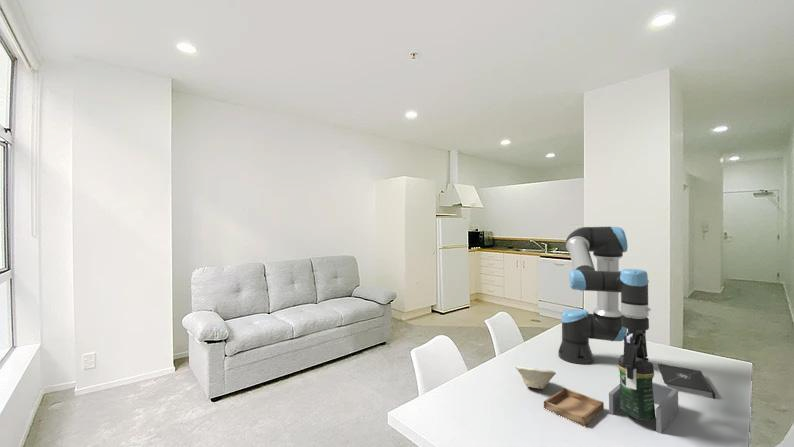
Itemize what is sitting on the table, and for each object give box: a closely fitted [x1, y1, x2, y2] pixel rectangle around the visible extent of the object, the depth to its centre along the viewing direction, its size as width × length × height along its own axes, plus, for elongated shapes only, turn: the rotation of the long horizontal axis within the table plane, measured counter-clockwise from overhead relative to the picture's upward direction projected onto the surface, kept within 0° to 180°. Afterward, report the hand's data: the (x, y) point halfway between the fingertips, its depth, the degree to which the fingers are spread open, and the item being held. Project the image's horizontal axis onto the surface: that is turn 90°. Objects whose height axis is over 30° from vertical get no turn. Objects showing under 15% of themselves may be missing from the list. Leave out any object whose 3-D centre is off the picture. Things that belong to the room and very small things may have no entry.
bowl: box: [515, 365, 557, 390], centre depth 133 cm, size 15×14×10 cm
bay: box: [608, 381, 679, 434], centre depth 115 cm, size 14×21×7 cm
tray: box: [543, 387, 605, 427], centre depth 117 cm, size 14×16×3 cm
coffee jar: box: [617, 354, 656, 422], centre depth 110 cm, size 10×8×19 cm
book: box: [657, 363, 716, 400], centre depth 136 cm, size 22×15×3 cm
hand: (636, 383), depth 110 cm, fingers closed on coffee jar, 9 cm apart
